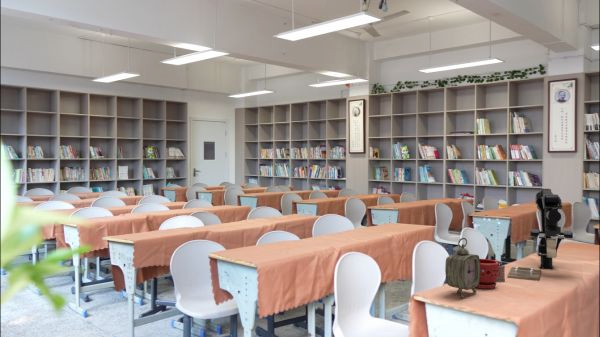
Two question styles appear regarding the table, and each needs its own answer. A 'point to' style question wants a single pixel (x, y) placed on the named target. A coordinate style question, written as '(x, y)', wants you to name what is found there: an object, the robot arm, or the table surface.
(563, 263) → the table surface
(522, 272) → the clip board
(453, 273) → the tabletop clock
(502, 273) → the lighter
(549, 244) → the peg
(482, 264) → the plant pot
